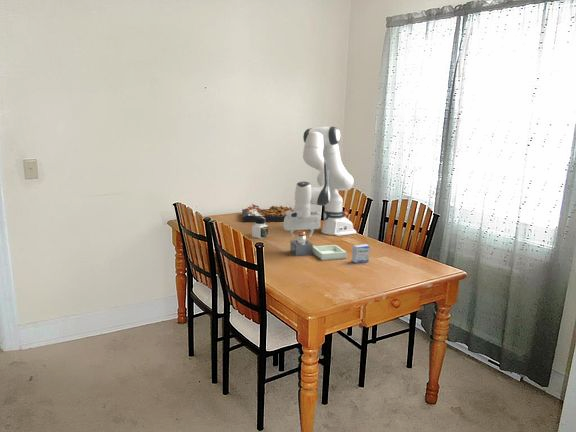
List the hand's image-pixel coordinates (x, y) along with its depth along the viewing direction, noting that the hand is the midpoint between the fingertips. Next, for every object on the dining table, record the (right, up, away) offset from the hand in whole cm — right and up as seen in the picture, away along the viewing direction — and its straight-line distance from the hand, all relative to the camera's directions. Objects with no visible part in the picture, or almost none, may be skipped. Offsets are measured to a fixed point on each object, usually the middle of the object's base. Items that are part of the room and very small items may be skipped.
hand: (301, 237), depth 258 cm
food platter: (-17, +9, +81) cm, 83 cm away
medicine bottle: (-24, -1, +32) cm, 40 cm away
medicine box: (+30, -12, -9) cm, 34 cm away
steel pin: (0, -9, +2) cm, 9 cm away
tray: (+15, -10, -1) cm, 18 cm away
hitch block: (0, -9, +2) cm, 9 cm away
